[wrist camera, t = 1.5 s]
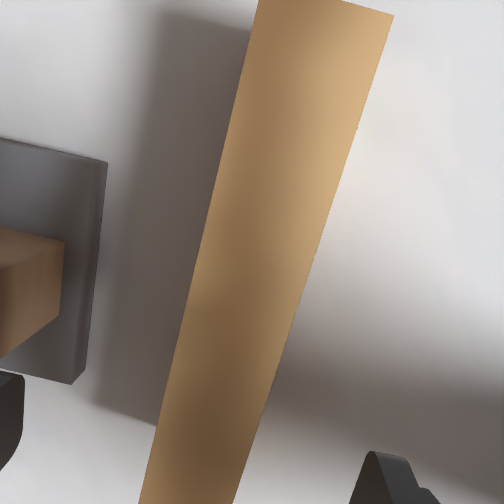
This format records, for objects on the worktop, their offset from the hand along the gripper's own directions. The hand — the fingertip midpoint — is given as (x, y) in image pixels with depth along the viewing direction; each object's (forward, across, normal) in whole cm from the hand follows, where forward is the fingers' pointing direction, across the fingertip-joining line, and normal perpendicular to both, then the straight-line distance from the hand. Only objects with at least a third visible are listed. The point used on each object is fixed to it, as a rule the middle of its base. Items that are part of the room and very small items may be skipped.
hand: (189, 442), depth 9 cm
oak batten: (+12, -1, 0) cm, 12 cm away
